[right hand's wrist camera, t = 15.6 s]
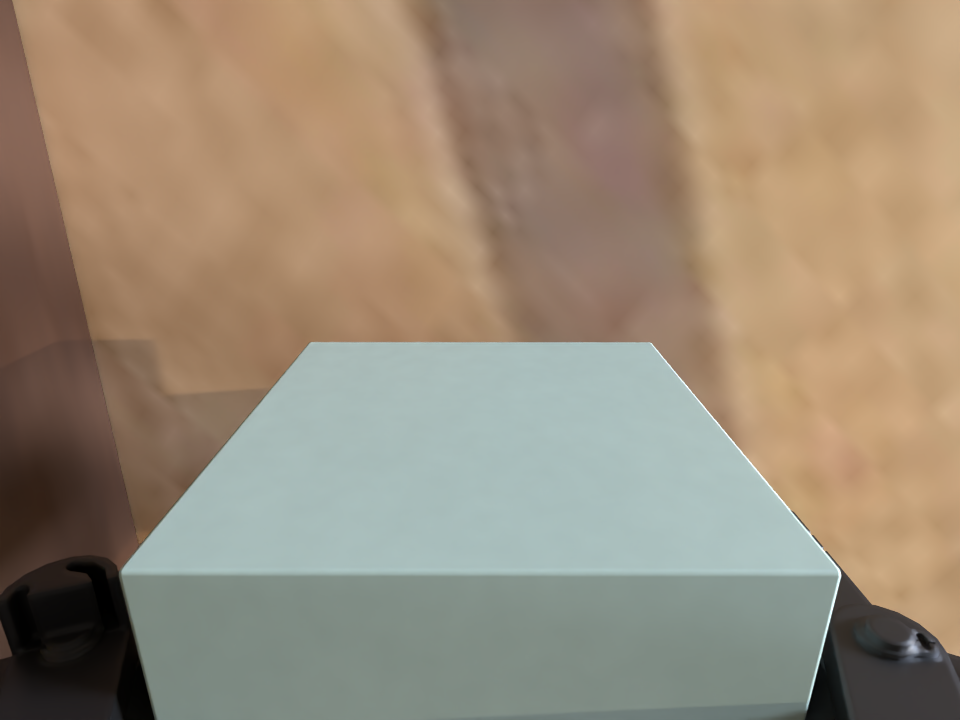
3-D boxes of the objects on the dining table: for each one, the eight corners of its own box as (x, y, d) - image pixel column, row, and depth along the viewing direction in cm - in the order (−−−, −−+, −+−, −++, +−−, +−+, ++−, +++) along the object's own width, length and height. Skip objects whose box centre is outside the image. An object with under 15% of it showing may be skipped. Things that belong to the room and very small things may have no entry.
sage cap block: (308, 341, 12) (114, 570, 6) (651, 341, 12) (845, 571, 6) (331, 566, 14) (206, 929, 8) (628, 566, 14) (753, 930, 8)
